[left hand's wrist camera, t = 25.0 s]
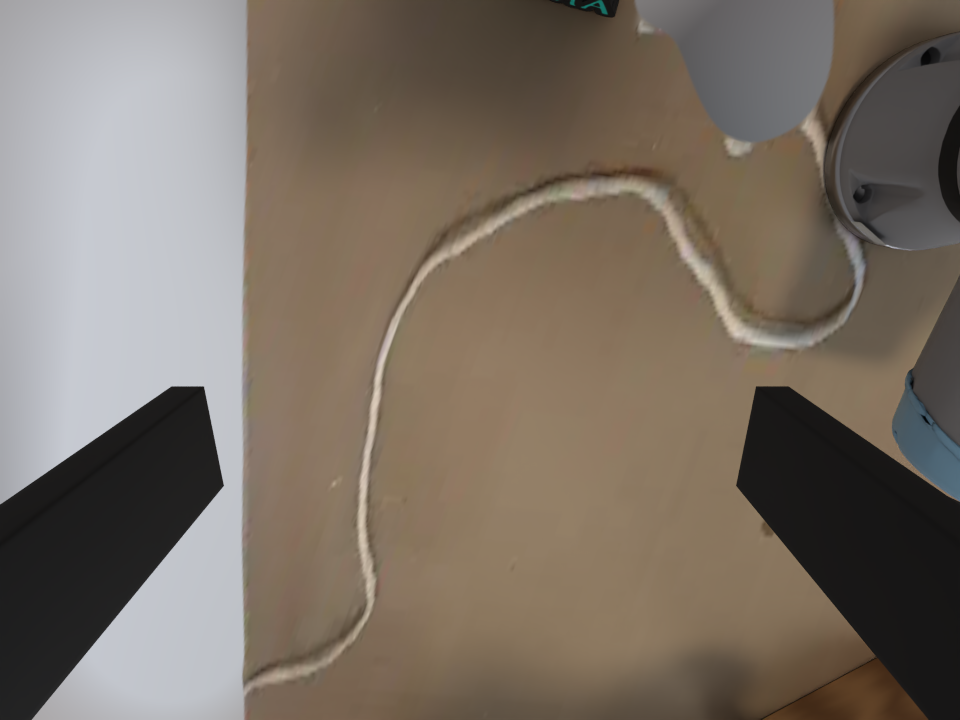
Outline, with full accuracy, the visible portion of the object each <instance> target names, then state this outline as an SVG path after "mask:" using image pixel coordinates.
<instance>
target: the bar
mask: <svg viewBox="0 0 960 720" xmlns="http://www.w3.org/2000/svg"><path fill="white" fill-rule="evenodd" d="M762 720H928V719H927V717H926V716H925V715H924V714H923V712H922V711H921V710H920V709H919V708H918V706H917V705H916V704H915V703H914V702H913V700H912V699H911V698H910V697H909V695H908V694H907V693H906V692H905V691H904V689H903V688H902V687H901V686H900V684H899V683H898V682H897V681H896V680H895V678H894V677H893V676H892V675H891V674H890V672H889V671H888V670H887V669H886V667H885V666H884V665H883V664H882V663H881V661H880V660H879V659H878V658H876V659H874V660H872V661H870V662H869V663H867V664H865V665H863V666H861V667H859V668H857V669H855V670H854V671H852V672H850V673H848V674H846V675H844V676H842V677H841V678H839V679H837V680H835V681H833V682H831V683H829V684H827V685H826V686H824V687H822V688H820V689H818V690H816V691H814V692H812V693H811V694H809V695H807V696H805V697H803V698H801V699H799V700H798V701H796V702H794V703H792V704H790V705H788V706H786V707H784V708H783V709H781V710H779V711H777V712H775V713H773V714H771V715H769V716H768V717H766V718H764V719H762Z"/></svg>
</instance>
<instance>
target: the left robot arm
mask: <svg viewBox="0 0 960 720" xmlns="http://www.w3.org/2000/svg"><path fill="white" fill-rule="evenodd" d="M825 183H826V190H827V194H828V198H829V201H830V203H831V206H832V208H833V210H834V212H835V214H836V216H837V217H838V218H839V220H840V221H841V223H842V224H843V225H844V226H845V227H846V228H847V229H848V230H849V231H851V232H852V233H853V234H854V235H856V236H857V237H859V238H861V239H863V240H865V241H867V242H870V243H872V244H876V245H880V246H884V247H890V248H896V249H903V250H925V249H931V248H938V247H943V246H948V245H953V244H957V243H960V32H955V33H951V34H947V35H944V36H940V37H937V38H934V39H930V40H927V41H924V42H921V43H918V44H916V45H913V46H911V47H909V48H907V49H905V50H903V51H901V52H899V53H897V54H896V55H894V56H893V57H891V58H890V59H888V60H887V61H885V62H884V63H883V64H881V65H880V66H879V67H878V68H877V69H876V70H874V71H873V72H872V73H871V74H870V75H869V76H868V77H867V78H866V79H865V80H864V81H863V82H862V83H861V85H860V86H859V87H858V88H857V89H856V90H855V92H854V93H853V95H852V96H851V97H850V99H849V100H848V102H847V103H846V105H845V106H844V108H843V110H842V112H841V114H840V115H839V117H838V119H837V121H836V124H835V126H834V129H833V131H832V134H831V137H830V140H829V144H828V149H827V153H826V161H825ZM892 432H893V435H894V438H895V440H896V442H897V444H898V445H899V448H900V451H901V452H902V453H903V455H904V456H905V457H906V458H907V460H908V461H909V462H910V463H911V464H912V465H913V466H914V467H915V468H916V469H917V470H918V471H919V472H920V473H922V474H923V475H924V476H925V477H926V478H928V479H929V480H930V481H931V482H933V483H934V484H935V485H937V486H938V487H939V488H941V489H942V490H944V491H945V492H946V493H948V494H949V495H951V496H952V497H954V498H955V499H957V500H959V501H960V276H959V278H958V280H957V282H956V284H955V286H954V288H953V290H952V292H951V294H950V296H949V298H948V300H947V302H946V304H945V306H944V308H943V310H942V312H941V314H940V316H939V318H938V320H937V322H936V324H935V326H934V328H933V330H932V332H931V334H930V336H929V338H928V340H927V342H926V344H925V346H924V348H923V350H922V352H921V354H920V356H919V358H918V360H917V362H916V364H915V366H914V368H913V369H911V370H910V371H909V372H908V374H907V376H906V378H905V391H904V393H903V396H902V398H901V400H900V403H899V405H898V408H897V410H896V412H895V415H894V417H893V421H892ZM223 486H224V485H223V480H222V475H221V470H220V465H219V460H218V455H217V450H216V445H215V440H214V435H213V430H212V425H211V420H210V415H209V410H208V405H207V400H206V395H205V390H204V387H170V388H169V389H167V390H166V391H164V392H163V393H162V394H160V395H159V396H157V397H156V398H154V399H153V400H151V401H150V402H149V403H147V404H146V405H144V406H143V407H141V408H140V409H138V410H137V411H135V412H134V413H133V414H131V415H130V416H128V417H127V418H125V419H124V420H122V421H121V422H119V423H118V424H117V425H115V426H114V427H112V428H111V429H109V430H108V431H106V432H105V433H104V434H102V435H101V436H99V437H98V438H96V439H95V440H93V441H92V442H91V443H89V444H88V445H86V446H85V447H83V448H82V449H80V450H79V451H77V452H76V453H75V454H73V455H72V456H70V457H69V458H67V459H66V460H64V461H63V462H61V463H60V464H59V465H57V466H56V467H54V468H53V469H51V470H50V471H48V472H47V473H46V474H44V475H43V476H41V477H40V478H38V479H37V480H35V481H34V482H32V483H31V484H30V485H28V486H27V487H25V488H24V489H22V490H21V491H19V492H18V493H17V494H15V495H14V496H12V497H11V498H9V499H8V500H6V501H5V502H3V503H2V504H0V720H32V719H33V717H34V716H35V715H36V714H37V712H38V711H39V710H40V709H41V708H42V706H43V705H44V704H45V703H46V701H47V700H48V699H49V698H50V697H51V695H52V694H53V693H54V692H55V691H56V689H57V688H58V687H59V686H60V684H61V683H62V682H63V681H64V680H65V678H66V677H67V676H68V675H69V674H70V672H71V671H72V670H73V669H74V667H75V666H76V665H77V664H78V663H79V661H80V660H81V659H82V658H83V656H84V655H85V654H86V653H87V652H88V650H89V649H90V648H91V647H92V646H93V644H94V643H95V642H96V641H97V639H98V638H99V637H100V636H101V635H102V633H103V632H104V631H105V630H106V628H107V627H108V626H109V625H110V624H111V622H112V621H113V620H114V619H115V618H116V616H117V615H118V614H119V613H120V611H121V610H122V609H123V608H124V607H125V605H126V604H127V603H128V602H129V600H130V599H131V598H132V597H133V596H134V594H135V593H136V592H137V591H138V590H139V588H140V587H141V586H142V585H143V583H144V582H145V581H146V580H147V579H148V577H149V576H150V575H151V574H152V573H153V571H154V570H155V569H156V568H157V566H158V565H159V564H160V563H161V562H162V560H163V559H164V558H165V557H166V555H167V554H168V553H169V552H170V551H171V549H172V548H173V547H174V546H175V545H176V543H177V542H178V541H179V540H180V538H181V537H182V536H183V535H184V533H185V532H186V531H187V530H188V529H189V527H190V526H191V525H192V524H193V523H194V521H195V520H196V519H197V518H198V516H199V515H200V514H201V513H202V512H203V510H204V509H205V508H206V507H207V506H208V504H209V503H210V502H211V501H212V499H213V498H214V497H215V496H216V495H217V493H218V492H219V491H220V490H221V489H222V487H223ZM736 486H737V487H738V489H739V490H740V491H741V492H742V493H743V495H744V496H745V497H746V498H747V499H748V501H749V502H750V503H751V504H752V506H753V507H754V508H755V509H756V510H757V512H758V513H759V514H760V515H761V517H762V518H763V519H764V520H765V521H766V523H767V524H768V525H769V526H770V527H771V529H772V530H773V531H774V532H775V534H776V535H777V536H778V537H779V538H780V540H781V541H782V542H783V543H784V545H785V546H786V547H787V548H788V549H789V551H790V552H791V553H792V554H793V555H794V557H795V558H796V559H797V560H798V562H799V563H800V564H801V565H802V566H803V568H804V569H805V570H806V571H807V573H808V574H809V575H810V576H811V577H812V579H813V580H814V581H815V582H816V583H817V585H818V586H819V587H820V588H821V590H822V591H823V592H824V593H825V594H826V596H827V597H828V598H829V599H830V600H831V602H832V603H833V604H834V605H835V607H836V608H837V609H838V610H839V611H840V613H841V614H842V615H843V616H844V618H845V619H846V620H847V621H848V622H849V624H850V625H851V626H852V627H853V628H854V630H855V631H856V632H857V633H858V635H859V636H860V637H861V638H862V639H863V641H864V642H865V643H866V644H867V646H868V647H869V648H870V649H871V650H872V652H873V653H874V654H875V655H876V656H877V658H878V659H879V660H880V661H881V663H882V664H883V665H884V666H885V667H886V669H887V670H888V671H889V672H890V674H891V675H892V676H893V677H894V678H895V680H896V681H897V682H898V683H899V684H900V686H901V687H902V688H903V689H904V691H905V692H906V693H907V694H908V695H909V697H910V698H911V699H912V700H913V702H914V703H915V704H916V705H917V706H918V708H919V709H920V710H921V711H922V712H923V714H924V715H925V716H926V717H927V719H928V720H960V502H958V501H956V500H954V499H952V498H950V497H948V496H946V495H945V494H943V493H942V492H941V491H939V490H938V489H936V488H935V487H933V486H932V485H930V484H929V483H928V482H926V481H925V480H923V479H922V478H920V477H919V476H917V475H916V474H914V473H913V472H912V471H910V470H909V469H907V468H906V467H904V466H903V465H901V464H900V463H899V462H897V461H896V460H894V459H893V458H891V457H890V456H888V455H887V454H885V453H884V452H883V451H881V450H880V449H878V448H877V447H875V446H874V445H872V444H871V443H870V442H868V441H867V440H865V439H864V438H862V437H861V436H859V435H858V434H856V433H855V432H854V431H852V430H851V429H849V428H848V427H846V426H845V425H843V424H842V423H841V422H839V421H838V420H836V419H835V418H833V417H832V416H830V415H829V414H827V413H826V412H825V411H823V410H822V409H820V408H819V407H817V406H816V405H814V404H813V403H812V402H810V401H809V400H807V399H806V398H804V397H803V396H801V395H800V394H798V393H797V392H796V391H794V390H793V389H791V388H790V387H756V390H755V395H754V400H753V405H752V410H751V415H750V420H749V425H748V430H747V435H746V440H745V445H744V450H743V455H742V460H741V465H740V470H739V475H738V480H737V485H736Z"/></svg>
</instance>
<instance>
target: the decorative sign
mask: <svg viewBox="0 0 960 720" xmlns="http://www.w3.org/2000/svg"><path fill="white" fill-rule="evenodd" d="M550 1H552V2H556V3H564V4H565V5H567V6H569V7H572V8H577V9H580V10H584V11H592V10H593V9H595V12H596V13H597V14H599V15H602V16H606V17H614V16H615V13H616V10H617V6H618V2H619V0H550Z"/></svg>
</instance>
